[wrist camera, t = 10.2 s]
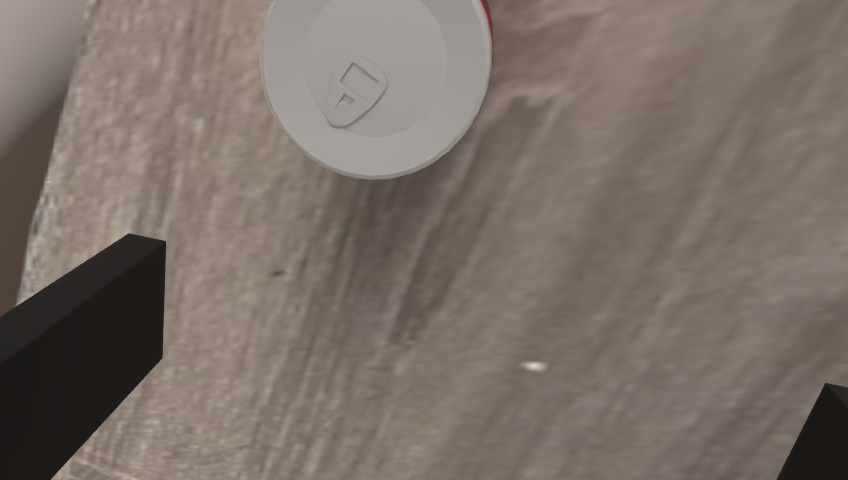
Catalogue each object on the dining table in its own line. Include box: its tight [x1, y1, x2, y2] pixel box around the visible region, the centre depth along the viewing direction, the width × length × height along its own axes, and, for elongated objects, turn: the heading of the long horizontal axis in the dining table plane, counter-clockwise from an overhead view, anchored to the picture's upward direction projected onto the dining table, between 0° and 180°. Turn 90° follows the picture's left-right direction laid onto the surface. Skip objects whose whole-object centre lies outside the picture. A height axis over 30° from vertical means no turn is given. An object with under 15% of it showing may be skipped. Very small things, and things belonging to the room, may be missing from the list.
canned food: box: [259, 0, 493, 180], centre depth 26 cm, size 8×8×11 cm
